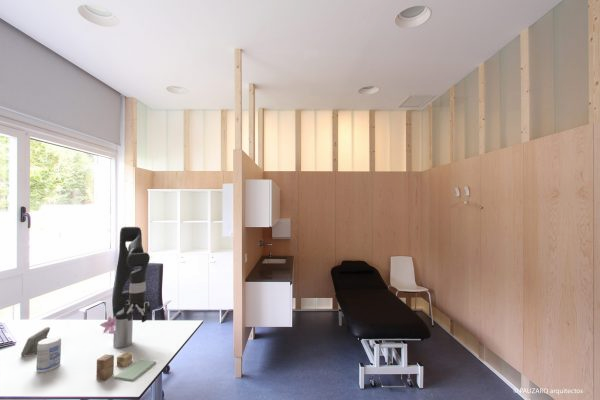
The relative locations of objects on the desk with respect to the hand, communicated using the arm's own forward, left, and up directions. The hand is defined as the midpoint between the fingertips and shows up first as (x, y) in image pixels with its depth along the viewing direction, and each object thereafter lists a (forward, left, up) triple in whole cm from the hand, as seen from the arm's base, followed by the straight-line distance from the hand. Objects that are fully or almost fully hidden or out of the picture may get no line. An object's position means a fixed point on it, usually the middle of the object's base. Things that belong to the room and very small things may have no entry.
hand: (136, 320), depth 143 cm
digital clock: (-76, +6, -26) cm, 80 cm away
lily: (-53, +36, -26) cm, 70 cm away
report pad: (0, 0, -26) cm, 26 cm away
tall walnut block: (-11, -8, -26) cm, 29 cm away
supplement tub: (-48, -7, -26) cm, 55 cm away
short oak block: (-11, +4, -26) cm, 29 cm away
